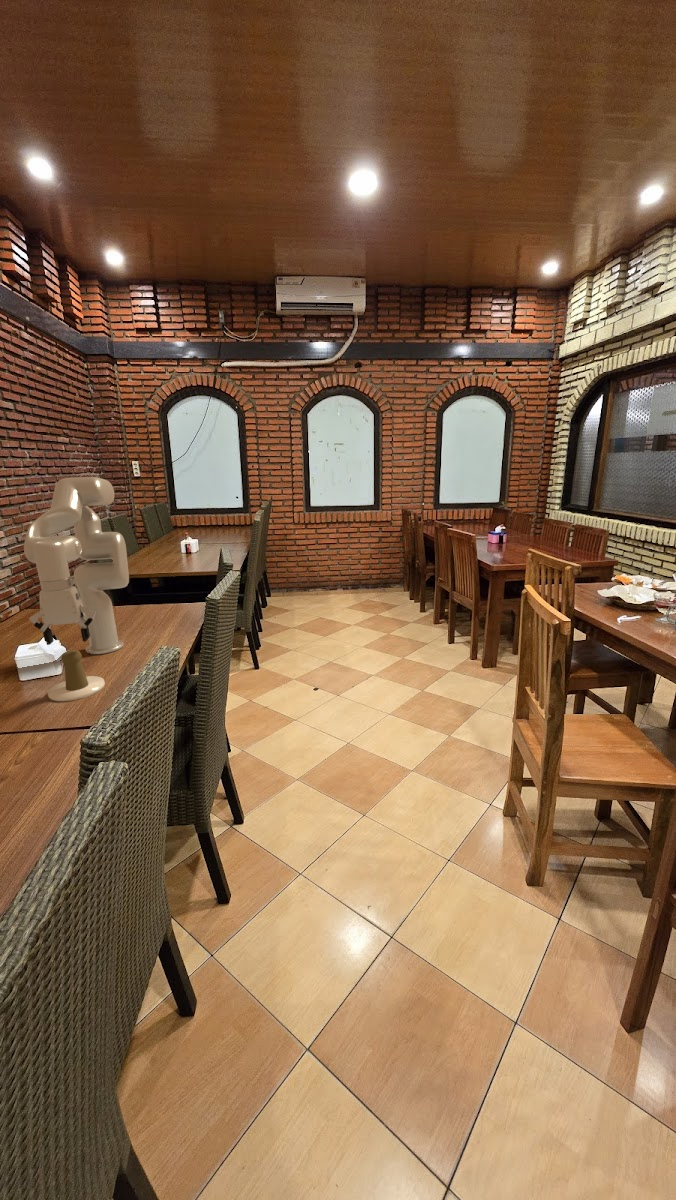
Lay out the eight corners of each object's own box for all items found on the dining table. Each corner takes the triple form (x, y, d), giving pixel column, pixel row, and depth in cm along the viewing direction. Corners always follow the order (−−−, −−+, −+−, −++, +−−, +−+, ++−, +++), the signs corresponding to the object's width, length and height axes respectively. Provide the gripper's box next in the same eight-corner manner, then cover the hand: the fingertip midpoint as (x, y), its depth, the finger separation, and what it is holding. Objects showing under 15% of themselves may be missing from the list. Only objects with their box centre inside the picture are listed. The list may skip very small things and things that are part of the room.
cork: (79, 691, 139) (72, 655, 136) (61, 690, 140) (53, 655, 137) (93, 682, 145) (86, 648, 142) (75, 681, 146) (68, 647, 143)
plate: (59, 682, 149) (59, 679, 148) (110, 676, 151) (110, 673, 151) (39, 704, 134) (38, 700, 134) (96, 697, 137) (95, 694, 136)
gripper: (93, 579, 139) (103, 634, 144) (28, 583, 137) (41, 640, 141) (85, 585, 132) (96, 643, 137) (16, 590, 129) (30, 649, 134)
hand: (68, 641), depth 139 cm, fingers open, 9 cm apart
